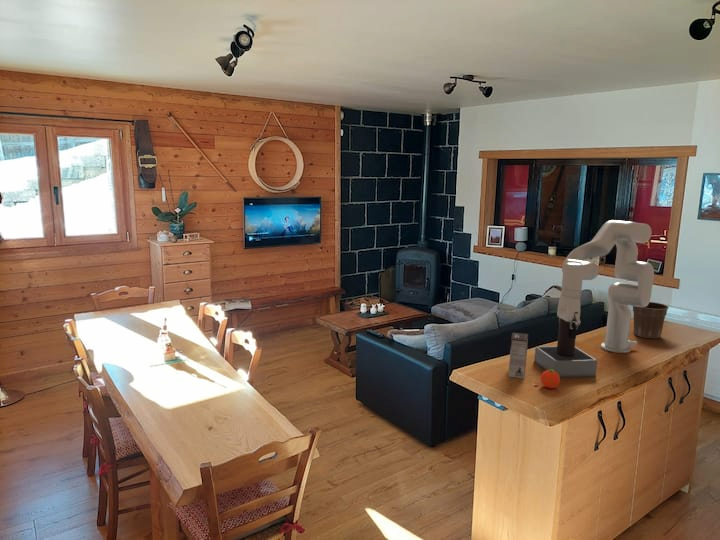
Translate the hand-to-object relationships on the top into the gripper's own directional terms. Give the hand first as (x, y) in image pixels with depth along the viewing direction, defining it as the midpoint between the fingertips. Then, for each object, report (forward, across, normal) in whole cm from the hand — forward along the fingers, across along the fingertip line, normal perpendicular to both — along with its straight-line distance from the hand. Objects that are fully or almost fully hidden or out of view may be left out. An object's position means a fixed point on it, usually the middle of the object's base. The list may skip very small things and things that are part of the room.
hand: (567, 334), depth 211 cm
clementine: (+15, +17, -15) cm, 27 cm away
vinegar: (+9, 0, 0) cm, 9 cm away
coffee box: (+15, +3, -22) cm, 27 cm away
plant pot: (+15, -40, +67) cm, 80 cm away
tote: (+15, 0, 0) cm, 15 cm away
